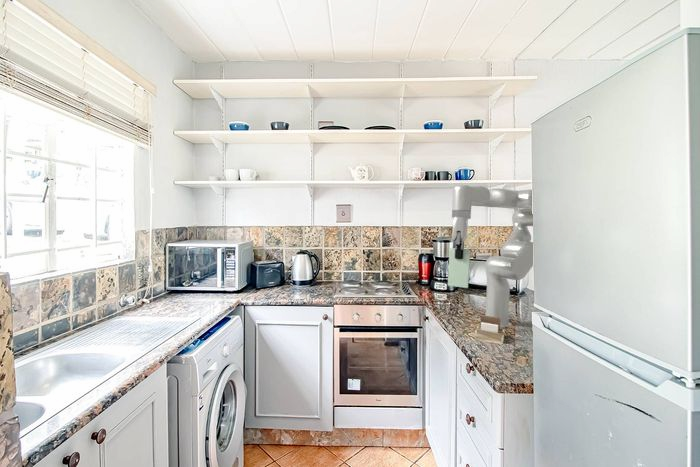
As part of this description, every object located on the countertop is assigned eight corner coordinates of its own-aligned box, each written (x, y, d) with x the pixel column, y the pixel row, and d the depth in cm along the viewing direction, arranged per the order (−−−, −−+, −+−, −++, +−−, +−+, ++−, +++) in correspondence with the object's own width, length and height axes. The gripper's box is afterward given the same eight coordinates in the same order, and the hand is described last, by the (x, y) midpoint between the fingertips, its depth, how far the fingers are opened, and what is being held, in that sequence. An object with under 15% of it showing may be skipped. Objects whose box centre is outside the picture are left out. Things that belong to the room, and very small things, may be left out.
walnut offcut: (480, 334, 124) (481, 315, 124) (499, 338, 121) (500, 318, 121) (479, 335, 123) (480, 316, 123) (499, 339, 119) (500, 319, 119)
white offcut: (480, 337, 121) (481, 322, 121) (497, 340, 118) (498, 324, 118) (480, 338, 120) (481, 323, 120) (497, 341, 117) (498, 326, 117)
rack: (477, 333, 129) (478, 322, 129) (504, 338, 124) (504, 326, 124) (474, 341, 120) (474, 329, 120) (502, 347, 115) (503, 334, 115)
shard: (471, 320, 148) (471, 316, 148) (487, 324, 143) (487, 320, 143) (462, 325, 140) (462, 321, 140) (479, 329, 135) (479, 325, 135)
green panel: (448, 284, 133) (450, 248, 133) (468, 287, 129) (470, 249, 129) (447, 285, 131) (449, 248, 131) (467, 288, 128) (469, 249, 127)
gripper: (455, 215, 138) (453, 256, 139) (448, 214, 124) (446, 259, 125) (472, 216, 135) (470, 257, 135) (468, 214, 121) (466, 261, 121)
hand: (459, 258), depth 130 cm, fingers closed on green panel, 2 cm apart
